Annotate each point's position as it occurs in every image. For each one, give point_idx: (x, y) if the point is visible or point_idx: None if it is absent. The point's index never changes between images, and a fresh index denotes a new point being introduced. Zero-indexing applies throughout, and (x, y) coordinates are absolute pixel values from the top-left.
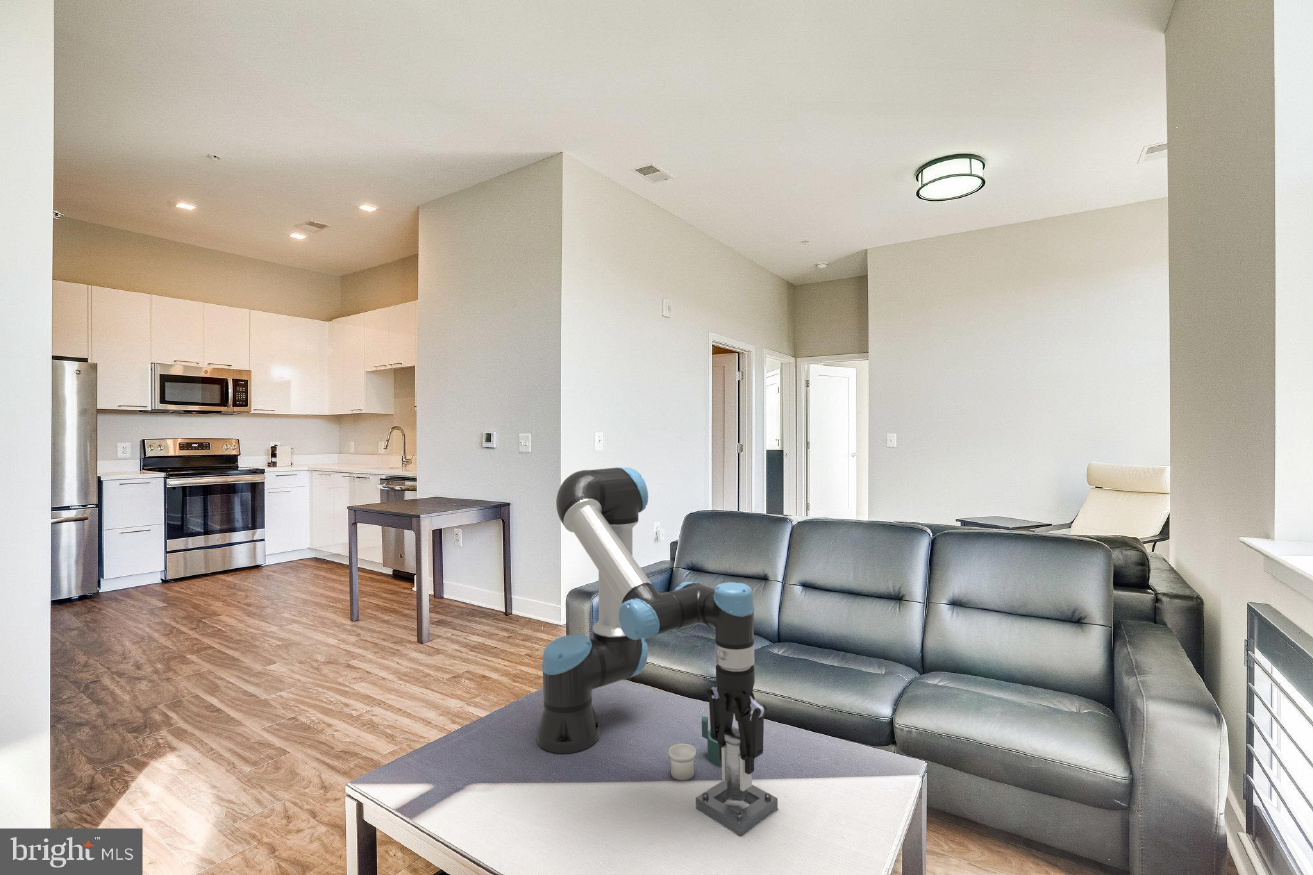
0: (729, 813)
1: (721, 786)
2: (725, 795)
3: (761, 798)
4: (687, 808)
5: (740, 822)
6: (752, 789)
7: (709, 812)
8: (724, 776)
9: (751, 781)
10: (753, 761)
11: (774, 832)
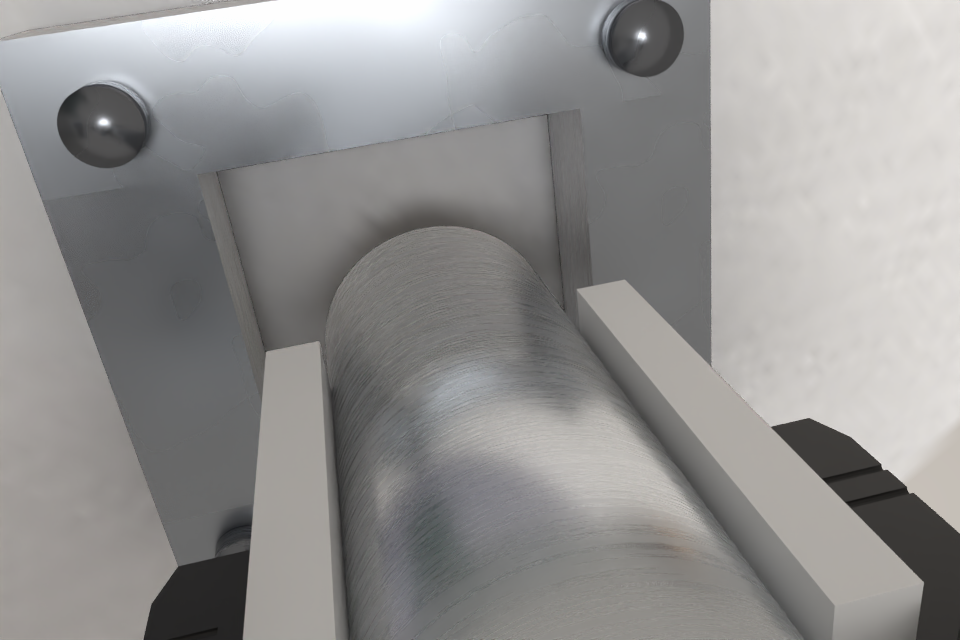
0: None
1: (163, 331)
2: (245, 305)
3: (594, 101)
4: None
5: None
6: (413, 69)
7: None
8: None
9: (646, 309)
10: (950, 545)
11: (815, 205)
